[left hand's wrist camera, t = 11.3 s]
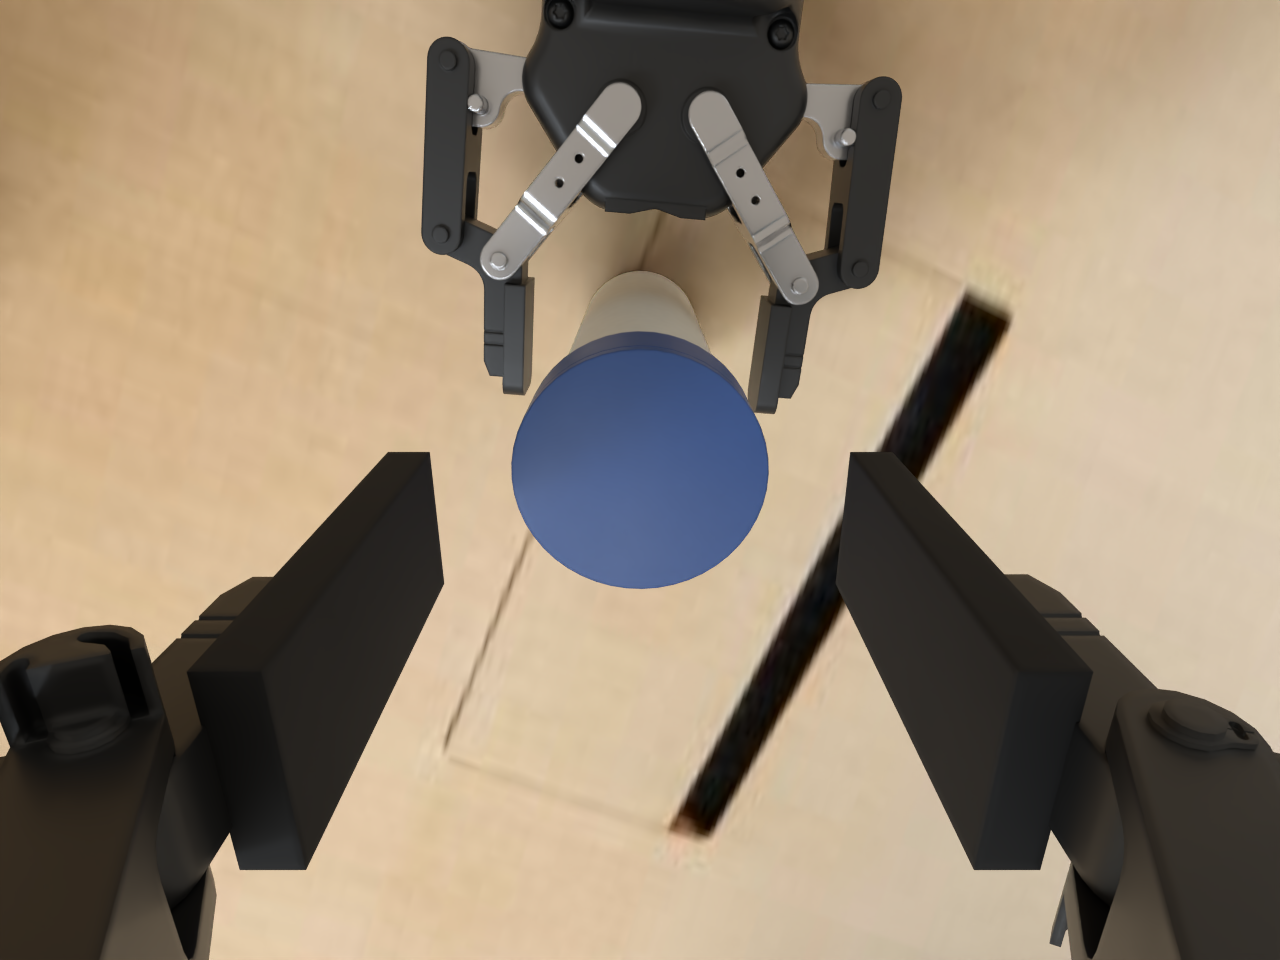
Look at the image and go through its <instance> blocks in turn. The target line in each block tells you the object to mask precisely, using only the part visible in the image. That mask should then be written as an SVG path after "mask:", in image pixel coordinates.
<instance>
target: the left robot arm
mask: <svg viewBox="0 0 1280 960" xmlns="http://www.w3.org/2000/svg"><path fill="white" fill-rule="evenodd" d="M443 585H444V578H443V568H442V559H441V550H440V541H439V532H438V523H437V514H436V505H435V496H434V487H433V478H432V469H431V460H430V452H388V453H387V454H386V455H385V456H384V457H383V458H382V459H381V460H380V461H379V463H378V464H377V465H376V466H375V467H374V468H373V469H372V470H371V471H370V472H369V473H368V475H367V476H366V477H365V478H364V479H363V480H362V481H361V482H360V483H359V484H358V485H357V486H356V488H355V489H354V490H353V491H352V492H351V493H350V494H349V495H348V496H347V497H346V498H345V500H344V501H343V502H342V503H341V504H340V505H339V506H338V507H337V508H336V509H335V510H334V512H333V513H332V514H331V515H330V516H329V517H328V518H327V519H326V520H325V521H324V522H323V524H322V525H321V526H320V527H319V528H318V529H317V530H316V531H315V532H314V533H313V534H312V535H311V537H310V538H309V539H308V540H307V541H306V542H305V543H304V544H303V545H302V546H301V547H300V549H299V550H298V551H297V552H296V553H295V554H294V555H293V556H292V557H291V558H290V559H289V561H288V562H287V563H286V564H285V565H284V566H283V567H282V568H281V569H280V570H279V571H278V573H277V574H276V575H275V576H274V577H252V578H250V579H248V580H246V581H245V582H243V583H241V584H239V585H237V586H236V587H234V588H232V589H230V590H229V591H227V592H225V593H223V594H221V595H220V596H219V597H218V598H217V599H216V600H215V601H214V602H213V603H212V604H211V605H210V606H209V607H208V608H207V609H206V610H205V611H204V612H203V613H202V614H201V615H200V616H199V620H195V621H194V622H193V623H192V624H191V625H190V626H189V627H188V628H187V629H186V630H185V631H184V632H183V633H182V634H181V638H177V639H176V640H175V641H174V642H173V643H172V644H171V645H170V646H169V647H168V648H167V649H166V650H165V651H164V652H163V653H162V654H161V655H160V656H159V657H158V658H157V659H156V660H155V661H154V662H153V663H151V660H150V656H149V653H148V649H147V646H146V642H145V639H144V635H142V634H141V633H139V632H138V631H136V630H135V629H133V628H131V627H124V626H116V625H104V626H93V627H83V628H79V629H75V630H71V631H67V632H64V633H60V634H56V635H52V636H50V637H47V638H45V639H42V640H40V641H37V642H35V643H33V644H30V645H28V646H25V647H23V648H21V649H20V650H18V651H16V652H15V653H13V654H11V655H10V656H8V657H6V658H5V659H3V660H1V661H0V722H1V725H2V727H3V730H4V732H5V735H6V738H7V740H8V743H9V745H10V749H9V751H8V753H7V755H6V756H4V757H0V960H209V953H210V945H211V937H212V928H213V920H214V912H215V904H216V889H215V883H214V878H213V875H212V871H211V868H210V863H211V861H212V860H213V858H214V857H215V855H216V853H217V852H218V850H219V849H220V847H221V845H222V844H223V842H224V841H225V839H226V837H227V836H228V834H229V833H230V835H231V839H232V843H233V846H234V850H235V854H236V857H237V861H238V865H239V869H240V870H306V869H307V867H308V865H309V863H310V860H311V858H312V856H313V854H314V852H315V850H316V848H317V846H318V844H319V842H320V840H321V838H322V836H323V834H324V831H325V829H326V827H327V825H328V823H329V821H330V819H331V817H332V815H333V813H334V811H335V809H336V807H337V805H338V802H339V800H340V798H341V796H342V794H343V792H344V790H345V788H346V786H347V784H348V782H349V780H350V778H351V776H352V773H353V771H354V769H355V767H356V765H357V763H358V761H359V759H360V757H361V755H362V753H363V751H364V749H365V746H366V744H367V742H368V740H369V738H370V736H371V734H372V732H373V730H374V728H375V726H376V724H377V722H378V720H379V717H380V715H381V713H382V711H383V709H384V707H385V705H386V703H387V701H388V699H389V697H390V695H391V693H392V691H393V688H394V686H395V684H396V682H397V680H398V678H399V676H400V674H401V672H402V670H403V668H404V666H405V664H406V662H407V659H408V657H409V655H410V653H411V651H412V649H413V647H414V645H415V643H416V641H417V639H418V637H419V635H420V633H421V630H422V628H423V626H424V624H425V622H426V620H427V618H428V616H429V614H430V612H431V610H432V608H433V606H434V604H435V601H436V599H437V597H438V595H439V593H440V591H441V589H442V587H443ZM836 585H837V587H838V589H839V591H840V593H841V595H842V597H843V599H844V601H845V604H846V606H847V608H848V610H849V612H850V614H851V616H852V618H853V620H854V622H855V624H856V626H857V628H858V630H859V633H860V635H861V637H862V639H863V641H864V643H865V645H866V647H867V649H868V651H869V653H870V655H871V657H872V659H873V662H874V664H875V666H876V668H877V670H878V672H879V674H880V676H881V678H882V680H883V682H884V684H885V686H886V688H887V691H888V693H889V695H890V697H891V699H892V701H893V703H894V705H895V707H896V709H897V711H898V713H899V715H900V717H901V720H902V722H903V724H904V726H905V728H906V730H907V732H908V734H909V736H910V738H911V740H912V742H913V744H914V746H915V749H916V751H917V753H918V755H919V757H920V759H921V761H922V763H923V765H924V767H925V769H926V771H927V773H928V776H929V778H930V780H931V782H932V784H933V786H934V788H935V790H936V792H937V794H938V796H939V798H940V800H941V802H942V805H943V807H944V809H945V811H946V813H947V815H948V817H949V819H950V821H951V823H952V825H953V827H954V829H955V831H956V834H957V836H958V838H959V840H960V842H961V844H962V846H963V848H964V850H965V852H966V854H967V856H968V858H969V860H970V863H971V865H972V867H973V869H974V870H1040V869H1041V865H1042V861H1043V857H1044V854H1045V850H1046V846H1047V843H1048V839H1049V835H1050V831H1051V830H1052V832H1053V833H1054V835H1055V837H1056V838H1057V840H1058V841H1059V843H1060V845H1061V846H1062V848H1063V849H1064V851H1065V853H1066V854H1067V856H1068V857H1069V859H1070V860H1071V864H1070V868H1069V871H1068V875H1067V878H1066V882H1065V885H1064V889H1063V892H1062V895H1061V899H1060V902H1059V906H1058V909H1057V913H1056V916H1055V920H1054V923H1053V927H1052V932H1051V938H1050V944H1053V945H1056V946H1059V947H1061V944H1062V941H1063V937H1064V934H1065V931H1066V930H1067V929H1068V934H1069V942H1070V951H1071V959H1072V960H1280V754H1279V753H1274V752H1273V751H1272V749H1271V747H1270V746H1269V745H1268V743H1267V742H1266V741H1265V740H1264V738H1263V737H1262V736H1261V735H1260V734H1259V732H1258V731H1257V730H1256V729H1255V728H1254V727H1252V726H1251V725H1249V724H1248V723H1246V722H1245V721H1244V720H1242V719H1241V718H1239V717H1238V716H1237V715H1235V714H1234V713H1232V712H1230V711H1228V710H1226V709H1224V708H1222V707H1220V706H1217V705H1215V704H1213V703H1211V702H1209V701H1207V700H1205V699H1201V698H1198V697H1194V696H1191V695H1188V694H1184V693H1181V692H1177V691H1170V690H1161V689H1157V688H1156V687H1155V686H1154V685H1153V684H1152V683H1151V682H1150V681H1149V680H1148V679H1147V678H1146V677H1145V676H1144V675H1143V674H1142V673H1141V672H1140V671H1139V670H1138V669H1137V668H1136V667H1135V666H1134V665H1133V664H1132V663H1131V662H1130V661H1129V660H1128V659H1127V658H1126V657H1125V656H1124V655H1123V654H1122V653H1121V652H1120V651H1119V650H1118V649H1117V648H1116V647H1115V646H1114V645H1113V644H1112V643H1111V642H1110V641H1109V640H1108V639H1107V638H1106V637H1105V636H1100V634H1099V630H1098V629H1097V628H1096V627H1095V626H1094V625H1093V624H1092V623H1091V622H1090V621H1089V620H1088V619H1087V618H1082V616H1081V613H1080V612H1079V611H1078V610H1077V609H1076V608H1075V607H1074V606H1073V605H1072V604H1071V603H1070V602H1069V601H1068V600H1067V599H1066V598H1065V597H1064V596H1063V595H1062V594H1061V593H1060V592H1058V591H1057V590H1055V589H1053V588H1051V587H1049V586H1048V585H1046V584H1044V583H1042V582H1040V581H1039V580H1037V579H1035V578H1033V577H1031V576H1030V575H1028V574H1003V573H1002V571H1001V570H1000V569H999V568H998V567H997V566H996V565H995V564H994V563H993V562H992V561H991V559H990V558H989V557H988V556H987V555H986V554H985V553H984V552H983V551H982V550H981V549H980V547H979V546H978V545H977V544H976V543H975V542H974V541H973V540H972V539H971V538H970V537H969V535H968V534H967V533H966V532H965V531H964V530H963V529H962V528H961V527H960V526H959V525H958V524H957V522H956V521H955V520H954V519H953V518H952V517H951V516H950V515H949V514H948V513H947V512H946V510H945V509H944V508H943V507H942V506H941V505H940V504H939V503H938V502H937V501H936V500H935V498H934V497H933V496H932V495H931V494H930V493H929V492H928V491H927V490H926V489H925V488H924V486H923V485H922V484H921V483H920V482H919V481H918V480H917V479H916V478H915V477H914V476H913V475H912V473H911V472H910V471H909V470H908V469H907V468H906V467H905V466H904V465H903V464H902V463H901V461H900V460H899V459H898V458H897V457H896V456H895V455H894V454H893V453H892V452H850V460H849V469H848V478H847V487H846V496H845V505H844V514H843V523H842V532H841V541H840V550H839V559H838V568H837V578H836Z"/></svg>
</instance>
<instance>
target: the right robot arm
mask: <svg viewBox="0 0 1280 960" xmlns="http://www.w3.org/2000/svg"><path fill="white" fill-rule="evenodd" d="M803 2H804V0H542V16H541V23H540V28H539V31H538V35H537V38H536V40H535V43H534V45H533V47H532V49H531V50H530V52H529V54H528V56H527V58H526V57H520V56H514V55H508V54H502V53H496V52H489V51H483V50H477V49H472V48H469V47H468V46H467V45H465V44H464V43H462V42H460V41H458V40H456V39H455V38H452V37H441V38H439V39H437V40H436V41H434V42H433V43H432V45H431V46H430V48H429V51H428V56H427V81H426V111H425V140H424V169H423V199H422V228H421V234H422V239H423V242H424V244H425V245H426V246H427V248H428V249H429V250H431V251H432V252H434V253H436V254H440V255H448V256H451V257H453V258H455V259H457V260H459V261H462V262H464V263H466V264H468V265H470V266H472V267H473V268H474V269H475V270H476V271H477V272H478V273H479V274H480V276H481V278H482V280H483V284H484V362H485V365H486V367H487V370H488V372H489V375H490V376H500V377H503V393H504V394H513V395H525V394H526V392H527V390H528V388H529V386H530V383H531V375H532V347H533V313H534V279H535V278H534V277H528V261H529V260H530V258H531V257H532V256H533V255H534V254H535V252H536V251H537V250H538V249H539V247H540V246H541V245H542V244H543V242H544V241H545V240H546V239H547V238H548V236H549V235H550V234H551V233H552V231H553V230H554V229H555V228H556V227H557V225H558V224H559V223H560V222H561V221H562V220H563V219H564V218H565V216H566V215H567V214H568V213H569V211H570V210H571V209H572V208H573V207H574V205H575V204H576V203H577V202H578V200H579V199H580V198H581V197H582V195H584V196H585V197H586V198H587V199H588V200H589V201H591V202H592V203H593V204H595V205H597V206H598V207H600V208H603V209H605V211H606V212H617V213H629V214H630V213H635V212H640V211H645V210H651V209H658V210H661V211H664V212H666V213H669V214H671V215H674V216H677V217H679V218H686V219H698V220H705V218H707V217H711V216H714V215H717V214H719V213H721V212H722V211H724V210H725V209H727V211H728V213H729V215H730V216H731V218H732V220H733V222H734V224H735V225H736V227H737V229H738V231H739V232H740V234H741V236H742V237H743V239H744V240H745V242H746V243H747V245H748V246H749V248H750V250H751V252H752V253H753V255H754V257H755V259H756V261H757V262H758V264H759V266H760V268H761V270H762V271H763V273H764V275H765V277H766V279H767V280H768V282H769V284H770V288H769V295H768V296H761V300H760V307H759V314H758V321H757V328H756V335H755V343H754V350H753V357H752V364H751V371H750V378H749V386H748V402H749V404H750V406H751V408H752V410H753V412H754V413H767V414H774V413H775V412H776V409H777V404H778V398H790V399H791V397H792V395H793V393H794V392H795V390H796V388H797V387H798V385H799V380H800V374H801V366H802V362H803V354H804V349H805V343H806V337H807V331H808V325H809V319H810V314H811V311H812V308H813V307H814V305H815V304H816V302H817V301H818V300H819V299H821V298H822V297H824V296H825V295H828V294H831V293H835V292H838V291H842V290H846V289H849V288H854V289H861V288H865V287H867V286H868V285H870V284H871V283H872V282H873V281H874V280H875V278H876V277H877V274H878V271H879V264H880V257H881V250H882V242H883V235H884V227H885V220H886V213H887V205H888V198H889V190H890V183H891V176H892V168H893V161H894V153H895V146H896V139H897V131H898V124H899V116H900V109H901V102H902V92H901V89H900V87H899V85H898V83H897V82H896V81H895V80H893V79H892V78H889V77H877V78H875V79H872V80H870V81H868V82H865V83H863V84H860V85H843V84H806V82H805V79H804V77H803V74H802V71H801V67H800V62H799V54H798V40H799V31H800V23H801V16H802V9H803ZM521 94H524V95H525V97H526V100H527V102H528V104H529V106H530V107H531V109H532V111H533V112H534V114H535V116H536V117H537V119H538V121H539V122H540V124H541V126H542V127H543V129H544V131H545V132H546V134H547V136H548V138H549V139H550V141H551V143H552V144H553V146H554V148H555V149H556V151H557V152H556V153H555V154H554V156H553V157H552V158H551V159H550V161H549V162H548V163H547V165H546V166H545V167H544V168H543V170H542V171H541V172H540V173H539V175H538V176H537V177H536V179H535V180H534V181H533V182H532V184H531V185H530V186H529V187H528V189H527V190H526V191H525V193H524V194H523V195H522V197H521V198H520V200H519V202H518V204H517V205H516V207H515V208H514V209H513V210H512V212H511V213H510V214H509V215H508V217H507V218H506V219H505V221H504V222H503V223H502V224H501V226H500V227H499V228H498V229H495V228H493V227H491V226H489V225H487V224H485V223H482V222H480V221H478V220H477V209H478V193H479V176H480V159H481V143H482V129H491V128H494V127H496V126H497V125H498V124H499V123H500V122H501V121H502V119H503V117H504V113H505V108H506V106H507V104H508V102H509V101H510V100H511V99H512V98H513V97H515V96H517V95H521ZM802 120H804V121H806V122H808V123H809V124H810V125H811V126H812V127H813V129H814V131H815V133H816V142H817V148H818V151H819V152H820V154H821V155H822V156H823V157H824V158H826V159H829V160H834V165H833V174H832V183H831V193H830V202H829V211H828V220H827V230H826V239H825V248H824V250H821V251H817V252H814V253H810V254H807V255H806V254H805V252H804V251H803V249H802V247H801V245H800V243H799V241H798V239H797V237H796V236H795V234H794V232H793V230H792V227H791V223H790V220H789V218H788V216H787V214H786V212H785V210H784V208H783V206H782V204H781V203H780V201H779V199H778V197H777V195H776V193H775V191H774V189H773V188H772V186H771V184H770V182H769V180H768V178H767V176H766V174H765V173H764V171H763V169H762V168H763V167H764V166H765V165H766V163H767V162H768V161H769V160H770V159H771V158H772V156H773V155H774V154H775V153H776V152H777V150H778V149H779V148H780V147H781V146H782V145H783V143H784V142H785V141H786V140H787V139H788V138H789V136H790V135H791V134H792V133H793V132H794V130H795V129H796V128H797V127H798V125H799V124H800V122H801V121H802Z"/></svg>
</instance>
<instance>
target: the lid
mask: <svg viewBox="0 0 1280 960" xmlns="http://www.w3.org/2000/svg"><path fill="white" fill-rule="evenodd" d="M511 465H512V483H513V490H514V495H515V498H516V501H517V505H518V508H519V510H520V513H521V515H522V517H523V519H524V521H525V523H526V525H527V527H528V528H529V530H530V531H531V533H532V534H533V536H534V537H535V538H536V540H537V541H538V542H539V543H540V544H541V546H542V547H543V548H544V549H545V550H546V551H547V552H548V553H549V554H550V555H551V556H553V557H554V558H555V559H556V560H557V561H559V562H560V563H561V564H563V565H564V566H566V567H567V568H569V569H570V570H572V571H574V572H576V573H578V574H579V575H581V576H584V577H586V578H589V579H591V580H593V581H596V582H599V583H603V584H607V585H610V586H616V587H623V588H636V589H646V588H659V587H664V586H669V585H674V584H677V583H680V582H684V581H687V580H689V579H692V578H694V577H696V576H698V575H701V574H703V573H704V572H706V571H708V570H709V569H711V568H713V567H714V566H716V565H717V564H719V563H720V562H721V561H723V560H724V559H725V558H726V557H728V556H729V555H730V554H731V553H732V552H733V551H734V550H735V549H736V548H737V547H738V546H739V545H740V543H741V542H742V541H743V540H744V538H745V537H746V536H747V534H748V533H749V532H750V530H751V528H752V526H753V525H754V523H755V521H756V520H757V517H758V515H759V513H760V510H761V508H762V505H763V502H764V498H765V494H766V491H767V483H768V475H769V470H768V454H767V448H766V442H765V439H764V436H763V433H762V429H761V427H760V425H759V422H758V420H757V418H756V416H755V414H754V412H753V410H752V408H751V406H750V404H749V402H748V400H747V398H746V396H745V393H744V391H743V389H742V388H741V386H740V385H739V383H738V382H737V380H736V379H735V377H734V376H733V375H732V374H731V372H730V371H729V370H728V369H727V368H726V367H725V366H724V365H723V364H722V363H721V362H720V361H719V360H717V359H716V358H715V357H714V356H713V355H712V354H710V353H708V352H707V351H705V350H704V349H702V348H701V347H699V346H697V345H695V344H693V343H691V342H689V341H687V340H684V339H681V338H678V337H675V336H672V335H668V334H662V333H657V332H644V331H634V332H622V333H617V334H613V335H608V336H605V337H602V338H599V339H596V340H594V341H591V342H589V343H587V344H585V345H583V346H581V347H579V348H577V349H576V350H575V351H573V352H572V353H570V354H569V355H567V356H566V357H565V358H563V359H562V360H561V361H560V362H559V363H558V364H557V365H556V366H555V367H554V368H553V369H552V370H551V371H550V373H549V374H548V375H547V376H546V377H545V379H544V380H543V381H542V383H541V385H540V386H539V388H538V390H537V391H536V393H535V395H534V397H533V399H532V401H531V403H530V405H529V407H528V410H527V412H526V414H525V416H524V418H523V420H522V423H521V425H520V427H519V430H518V432H517V436H516V439H515V443H514V447H513V455H512V463H511Z"/></svg>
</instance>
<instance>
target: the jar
mask: <svg viewBox="0 0 1280 960" xmlns="http://www.w3.org/2000/svg"><path fill="white" fill-rule="evenodd" d="M634 331H644V332H657V333H662V334H668V335H672V336H675V337H678V338H681V339H684V340H687V341H689V342H691V343H693V344H695V345H697V346H699V347H701V348H702V349H704V350H705V351H707V352H708V353H710V354H711V352H710V350H709V347H708V345H707V342H706V340H705V337H704V335H703V332H702V330H701V327H700V325H699V323H698V320H697V318H696V315H695V313H694V310H693V308H692V305H691V303H690V301H689V299H688V298H687V296H686V295H685V293H684V292H683V291H682V290H681V288H680V287H679V286H677V285H676V284H675V283H674V282H673V281H671V280H670V279H668V278H666V277H664V276H662V275H660V274H657V273H653V272H648V271H632V272H627V273H623V274H621V275H618V276H616V277H614V278H612V279H610V280H609V281H607V282H606V283H605V284H604V285H603V286H601V287H600V288H599V289H598V291H597V292H596V293H595V294H594V296H593V298H592V299H591V301H590V303H589V306H588V308H587V310H586V313H585V315H584V318H583V320H582V323H581V325H580V328H579V330H578V333H577V335H576V338H575V340H574V343H573V345H572V347H571V350H570V352H569V354H570V353H572V352H573V351H575V350H576V349H577V348H579V347H581V346H583V345H585V344H587V343H589V342H591V341H594V340H596V339H599V338H602V337H605V336H608V335H613V334H617V333H622V332H634Z"/></svg>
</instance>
